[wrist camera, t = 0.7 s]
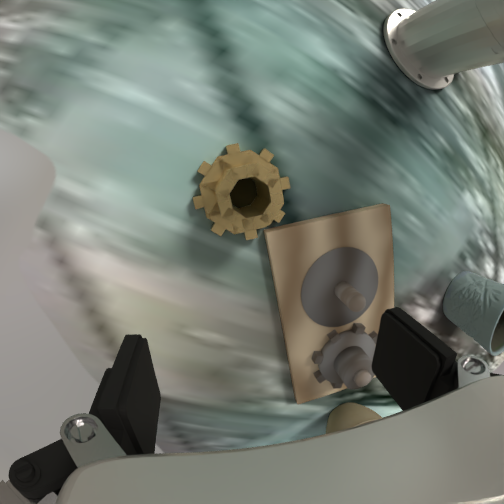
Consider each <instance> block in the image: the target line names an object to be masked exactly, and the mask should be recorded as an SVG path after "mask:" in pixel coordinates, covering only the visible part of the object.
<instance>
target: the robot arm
mask: <svg viewBox="0 0 504 504" xmlns="http://www.w3.org/2000/svg"><path fill="white" fill-rule="evenodd" d="M383 31H384V38H385V42H386V46H387V48H388V50H389V52H390V54H391V56H392V58H393V60H394V61H395V63H396V64H397V65H398V67H399V68H400V69H401V70H402V71H403V73H404V74H405V75H406V76H407V77H409V78H410V79H411V80H412V81H413V82H415V83H416V84H418V85H419V86H422V87H424V88H426V89H431V90H438V89H442V88H445V87H446V86H448V85H449V84H450V83H451V82H452V80H453V77H454V74H455V73H459V72H463V71H467V70H471V69H476V68H480V67H485V66H490V65H495V64H500V63H504V0H435V1H434V2H432V3H430V4H428V5H426V6H425V7H423V8H421V9H419V10H418V11H414V10H411V9H398V10H396V11H394V12H392V13H391V14H389V15H388V17H387V18H386V20H385V23H384V29H383ZM456 356H457V353H456V352H455V351H453V350H452V349H451V348H450V347H448V346H447V345H446V344H445V343H444V342H442V341H441V340H440V339H439V338H437V337H436V336H435V335H434V334H432V333H431V332H430V331H429V330H427V329H426V328H425V327H424V326H422V325H421V324H420V323H419V322H417V321H416V320H415V319H413V318H412V317H411V316H410V315H408V314H407V313H406V312H404V311H403V310H402V309H401V308H399V307H396V308H391V309H387V310H385V312H384V313H383V314H382V316H381V320H380V326H379V331H378V337H377V342H376V347H375V351H374V356H373V361H372V371H373V373H374V374H375V376H376V377H377V378H378V380H379V381H380V382H381V383H382V385H383V386H384V387H385V388H386V390H387V391H388V392H389V393H390V395H391V396H392V397H393V399H394V400H395V401H396V402H397V404H398V405H399V406H400V408H401V409H402V410H403V411H401V412H399V413H396V414H393V415H390V416H387V417H384V418H381V419H378V420H375V421H372V422H368V423H365V424H362V425H358V426H355V427H351V428H348V429H344V430H340V431H336V432H332V433H328V434H324V435H320V436H315V437H311V438H306V439H301V440H296V441H290V442H285V443H279V444H273V445H266V446H259V447H252V448H243V449H233V450H222V451H210V452H193V453H165V454H154V451H155V442H156V433H157V424H158V416H159V408H160V400H161V397H160V391H159V387H158V383H157V379H156V376H155V372H154V368H153V363H152V359H151V355H150V351H149V346H148V342H147V339H146V338H142V336H141V335H126V336H125V337H124V340H123V342H122V345H121V347H120V349H119V352H118V354H117V357H116V359H115V362H114V364H113V367H112V368H108V369H106V371H105V373H104V376H103V378H102V381H101V383H100V386H99V388H98V391H97V393H96V396H95V398H94V401H93V404H92V406H91V409H90V412H89V414H86V413H83V414H76V415H73V416H71V417H69V418H68V419H66V420H65V421H64V423H63V424H62V426H61V429H60V435H61V438H62V439H60V440H58V441H56V442H54V443H52V444H50V445H48V446H46V447H44V448H42V449H39V450H38V451H35V452H33V453H31V454H29V455H27V456H24V457H22V458H20V459H19V460H17V461H15V462H14V463H13V464H12V465H11V467H10V470H9V479H10V480H8V481H7V482H6V483H5V482H4V481H3V480H2V481H1V482H0V504H504V375H499V374H493V373H490V371H489V367H488V365H487V363H486V362H485V361H484V360H482V359H481V358H478V357H475V356H464V357H462V358H460V359H459V360H458V363H457V362H456V361H455V359H456Z"/></svg>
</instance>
